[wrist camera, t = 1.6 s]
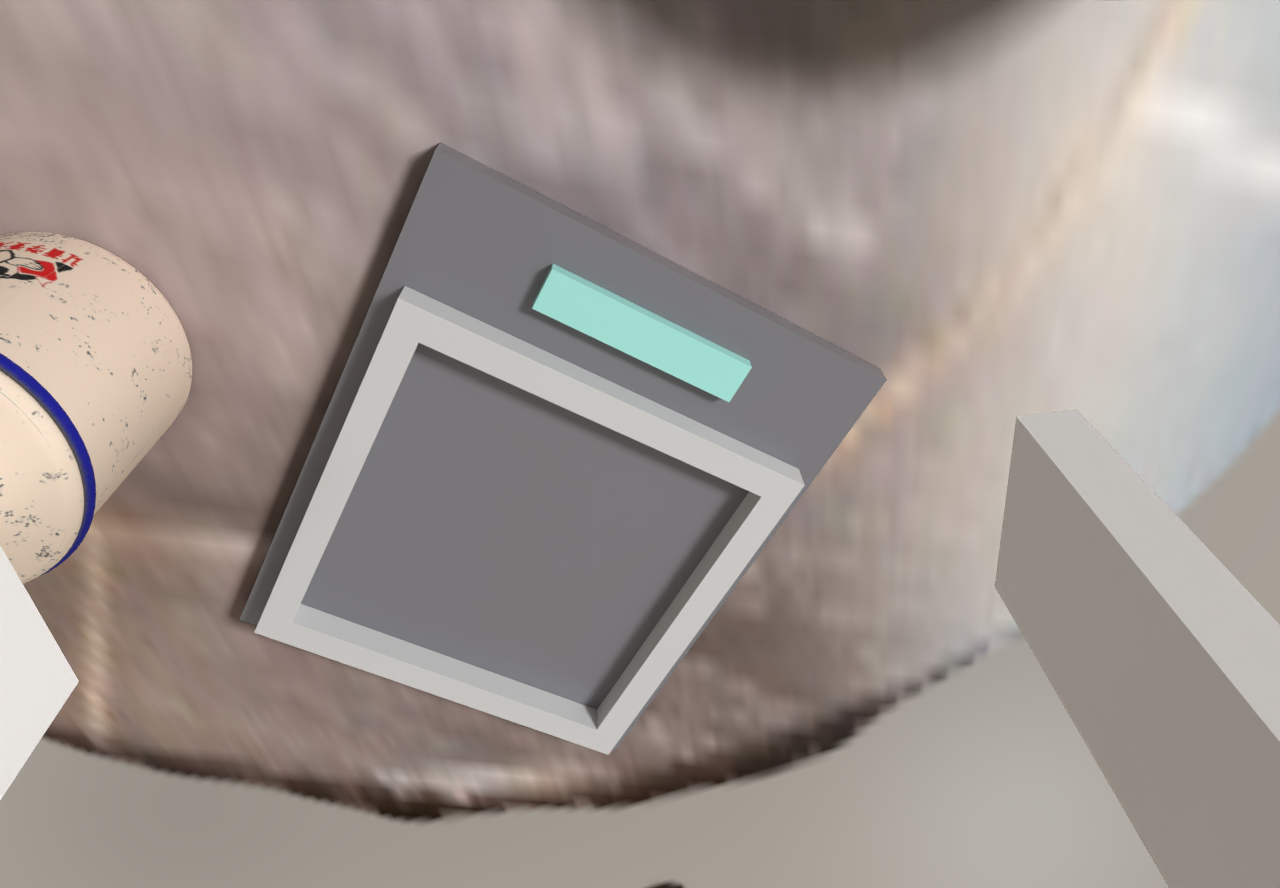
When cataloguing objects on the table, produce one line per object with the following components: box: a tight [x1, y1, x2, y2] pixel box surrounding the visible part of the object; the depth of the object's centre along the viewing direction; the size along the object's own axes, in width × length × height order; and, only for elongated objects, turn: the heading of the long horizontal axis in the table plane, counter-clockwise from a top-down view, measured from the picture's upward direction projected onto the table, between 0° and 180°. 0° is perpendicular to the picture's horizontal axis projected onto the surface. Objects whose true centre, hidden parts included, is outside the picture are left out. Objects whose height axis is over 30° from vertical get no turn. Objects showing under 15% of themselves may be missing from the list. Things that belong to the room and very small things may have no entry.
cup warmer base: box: [240, 143, 887, 755], centre depth 37 cm, size 18×22×2 cm
